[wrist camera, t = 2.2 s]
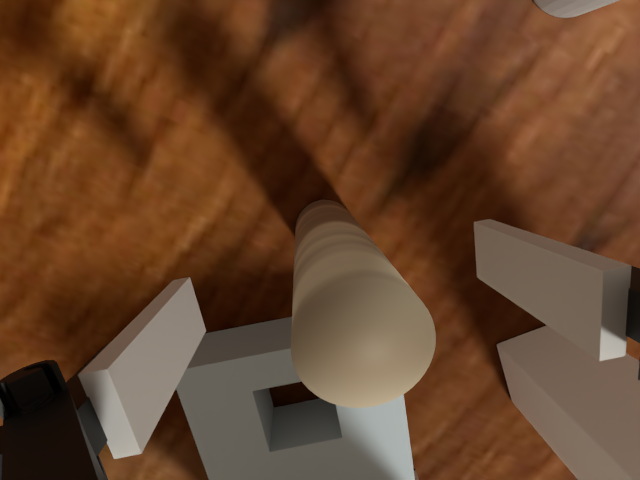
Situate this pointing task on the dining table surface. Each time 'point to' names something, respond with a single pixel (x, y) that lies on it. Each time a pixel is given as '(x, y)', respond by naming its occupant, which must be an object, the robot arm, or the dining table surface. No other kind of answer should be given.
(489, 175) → the dining table surface
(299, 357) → the birch peg
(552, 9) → the coffee cup
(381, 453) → the socket block
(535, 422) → the milk
